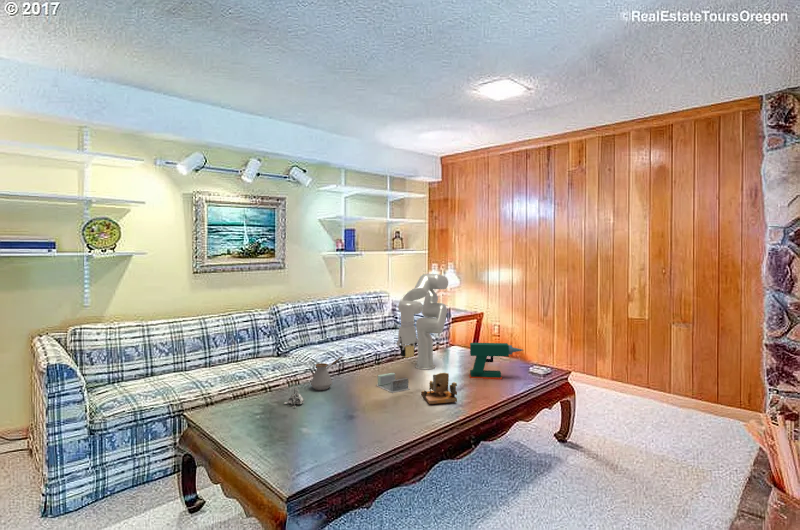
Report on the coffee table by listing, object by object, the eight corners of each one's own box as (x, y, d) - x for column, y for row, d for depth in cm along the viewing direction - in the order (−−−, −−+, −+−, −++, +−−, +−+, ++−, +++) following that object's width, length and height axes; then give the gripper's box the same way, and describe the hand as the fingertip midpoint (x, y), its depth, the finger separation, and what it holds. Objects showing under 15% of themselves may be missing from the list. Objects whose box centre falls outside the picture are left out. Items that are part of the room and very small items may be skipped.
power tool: (523, 377, 268) (523, 343, 267) (525, 380, 261) (525, 345, 260) (469, 375, 271) (469, 342, 270) (469, 378, 264) (469, 344, 263)
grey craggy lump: (278, 405, 218) (278, 389, 218) (289, 400, 226) (288, 384, 226) (295, 407, 215) (295, 391, 215) (304, 402, 223) (304, 386, 223)
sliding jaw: (377, 384, 249) (377, 375, 249) (392, 381, 255) (392, 372, 255) (380, 385, 247) (380, 376, 247) (395, 382, 253) (395, 373, 253)
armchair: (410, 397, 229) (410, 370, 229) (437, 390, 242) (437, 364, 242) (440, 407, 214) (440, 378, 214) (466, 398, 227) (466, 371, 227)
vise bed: (376, 386, 250) (376, 375, 249) (392, 382, 256) (392, 372, 256) (392, 393, 236) (392, 382, 236) (409, 389, 243) (409, 378, 243)
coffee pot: (319, 392, 238) (319, 364, 238) (306, 388, 245) (306, 360, 245) (350, 384, 254) (350, 357, 253) (337, 380, 261) (336, 354, 261)
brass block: (401, 356, 261) (401, 346, 260) (409, 354, 264) (409, 344, 264) (405, 357, 257) (405, 347, 257) (414, 356, 261) (413, 345, 261)
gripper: (415, 321, 268) (415, 352, 269) (391, 324, 258) (391, 356, 259) (423, 323, 262) (423, 354, 263) (398, 326, 252) (399, 358, 253)
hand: (407, 355), depth 261 cm, fingers closed on brass block, 6 cm apart
